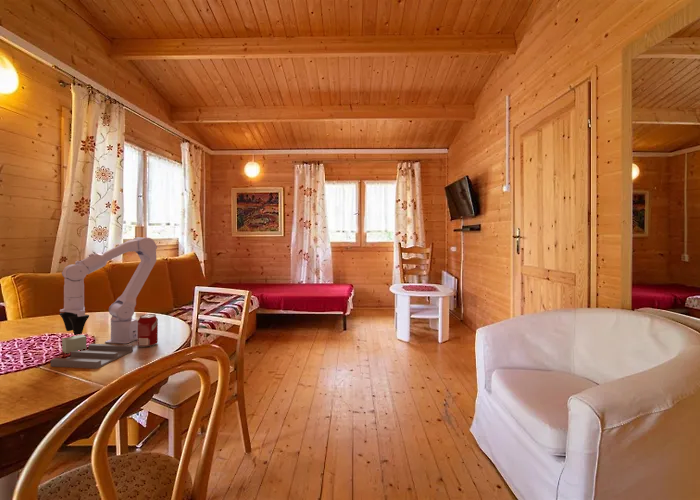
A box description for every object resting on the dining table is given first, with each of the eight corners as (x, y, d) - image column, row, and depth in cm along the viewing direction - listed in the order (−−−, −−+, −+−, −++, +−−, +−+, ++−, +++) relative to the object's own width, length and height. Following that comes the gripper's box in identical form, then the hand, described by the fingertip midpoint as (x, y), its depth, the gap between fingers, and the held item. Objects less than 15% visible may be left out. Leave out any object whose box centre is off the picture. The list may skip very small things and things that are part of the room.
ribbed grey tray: (132, 351, 120) (132, 345, 120) (97, 368, 104) (97, 362, 104) (91, 349, 121) (91, 343, 121) (50, 366, 105) (50, 359, 105)
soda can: (147, 348, 123) (148, 318, 123) (133, 347, 124) (133, 316, 124) (161, 343, 130) (161, 314, 129) (147, 341, 131) (147, 313, 130)
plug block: (82, 347, 123) (82, 334, 123) (86, 349, 121) (86, 336, 121) (62, 351, 118) (62, 338, 118) (66, 354, 116) (66, 340, 116)
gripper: (53, 295, 119) (53, 331, 119) (67, 300, 111) (67, 338, 112) (77, 293, 125) (76, 327, 125) (92, 297, 117) (91, 334, 118)
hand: (74, 332), depth 119 cm, fingers open, 7 cm apart
